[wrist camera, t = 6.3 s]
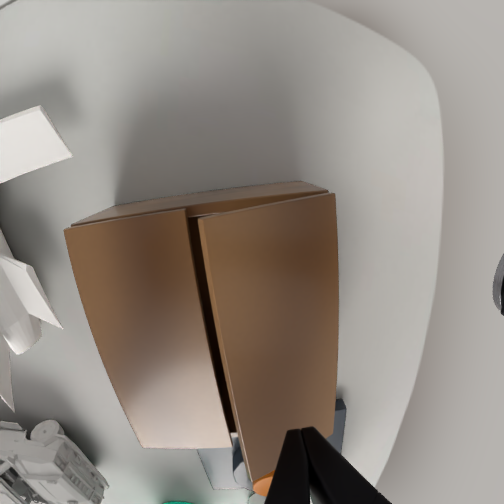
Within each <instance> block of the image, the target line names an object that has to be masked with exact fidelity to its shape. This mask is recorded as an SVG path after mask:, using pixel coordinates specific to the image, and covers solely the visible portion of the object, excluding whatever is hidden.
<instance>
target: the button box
mask: <svg viewBox="0 0 504 504" xmlns="http://www.w3.org/2000/svg"><path fill="white" fill-rule="evenodd" d="M345 417H346V406H345V404H344V401H343V399H340V400H336V401H335V415H334V428H333V434H332V435H330V436H329V437H327V438H326V439H327V441H328V442H329V443H330V444H331V445H332V446H333V447H334V448H335V449H336V450H337V451H338V452H339V453H340V454H341V449H342V442H343V434H344V426H345ZM232 441H233V447H226V448H203V449H197V451H198V454H199V456H200V459H201V461H202V464H203V466H204V469H205V471H206V474H207V476H208V478H209V481H210V483H211V485H212V488H213V489H238V488H246V489H248V490H252V491H254V490H253V485H252V482H251V481H250V479H249V478H248V476H247V472H246V468H245V463H244V459H243V455H242V451H241V447H240V442H239V438H238V437H232Z"/></svg>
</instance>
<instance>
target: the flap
mask: <svg viewBox="0 0 504 504" xmlns="http://www.w3.org/2000/svg"><path fill="white" fill-rule="evenodd" d="M198 225H199V232H200V238H201V245H202V251H203V258H204V264H205V270H206V276H207V282H208V288H209V294H210V300H211V305H212V311H213V316H214V322H215V327H216V333H217V338H218V343H219V348H220V354H221V359H222V364H223V369H224V374H225V379H226V383H227V388H228V393H229V398H230V402H231V407H232V412H233V416H234V421H235V425H236V429H237V434H238V438H239V442H240V447H241V451H242V455H243V459H244V463H245V468H246V472H247V476H248V478H249V479H250V481H251V482H253V481H255V480H257V479H259V478H261V477H263V476H264V475H266V474H268V473H270V472H272V471H274V470H275V469H276V465H277V462H278V459H279V455H280V452H281V449H282V445H283V442H284V439H285V435H286V432H287V430H291V429H297V428H298V429H300V430H301V428H304V427H310V426H314V427H315V428H316V429H317V430H318V431H319V432H320V433H321V434H322V435H323V436H324V437H325V438H327V437H329V436H330V435H332V434H333V428H334V415H335V401H336V385H337V363H338V328H339V275H338V239H337V217H336V199H335V193H324V194H318V195H312V196H307V197H301V198H296V199H290V200H285V201H280V202H274V203H269V204H264V205H259V206H254V207H249V208H244V209H239V210H234V211H229V212H224V213H219V214H215V215H210V216H205V217H201V218H198Z"/></svg>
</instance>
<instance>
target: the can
mask: <svg viewBox="0 0 504 504" xmlns="http://www.w3.org/2000/svg"><path fill="white" fill-rule="evenodd" d="M265 499H266V496H261V495H258V494H257V493H254V494H253V495H252V496H251V497H250V498H249V500H248V504H264V502H265Z"/></svg>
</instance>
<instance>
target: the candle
mask: <svg viewBox="0 0 504 504" xmlns="http://www.w3.org/2000/svg"><path fill="white" fill-rule="evenodd" d="M163 504H192V503H187V502H173V501H172V502H168V503H163Z"/></svg>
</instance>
